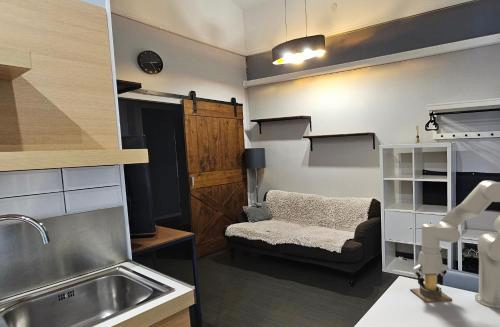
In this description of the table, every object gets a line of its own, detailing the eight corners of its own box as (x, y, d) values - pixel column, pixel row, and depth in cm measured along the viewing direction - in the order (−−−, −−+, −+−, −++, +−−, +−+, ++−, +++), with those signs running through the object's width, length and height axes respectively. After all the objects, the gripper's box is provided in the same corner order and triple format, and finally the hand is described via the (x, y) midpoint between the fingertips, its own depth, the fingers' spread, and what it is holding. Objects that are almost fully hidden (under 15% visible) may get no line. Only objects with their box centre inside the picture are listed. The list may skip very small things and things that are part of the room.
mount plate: (434, 288, 157) (434, 281, 157) (452, 300, 145) (452, 292, 145) (410, 290, 156) (410, 283, 156) (425, 302, 144) (425, 294, 144)
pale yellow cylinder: (432, 290, 153) (432, 271, 152) (439, 295, 148) (439, 275, 147) (422, 291, 153) (422, 271, 152) (429, 296, 148) (429, 276, 147)
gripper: (442, 246, 153) (442, 280, 154) (408, 248, 152) (408, 282, 153) (453, 251, 146) (453, 286, 147) (418, 253, 145) (418, 289, 146)
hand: (430, 284), depth 150 cm, fingers open, 9 cm apart
